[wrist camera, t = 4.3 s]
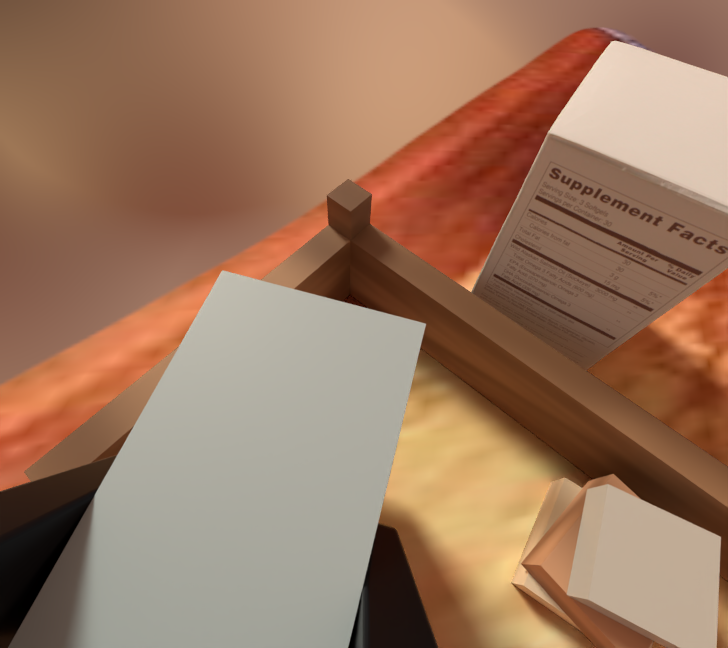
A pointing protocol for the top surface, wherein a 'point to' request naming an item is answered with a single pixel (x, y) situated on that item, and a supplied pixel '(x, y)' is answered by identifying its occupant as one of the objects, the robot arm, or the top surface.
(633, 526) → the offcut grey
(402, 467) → the top surface
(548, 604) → the offcut birch
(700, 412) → the top surface
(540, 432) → the frame
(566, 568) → the offcut cherry
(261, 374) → the block
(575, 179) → the supplement box
